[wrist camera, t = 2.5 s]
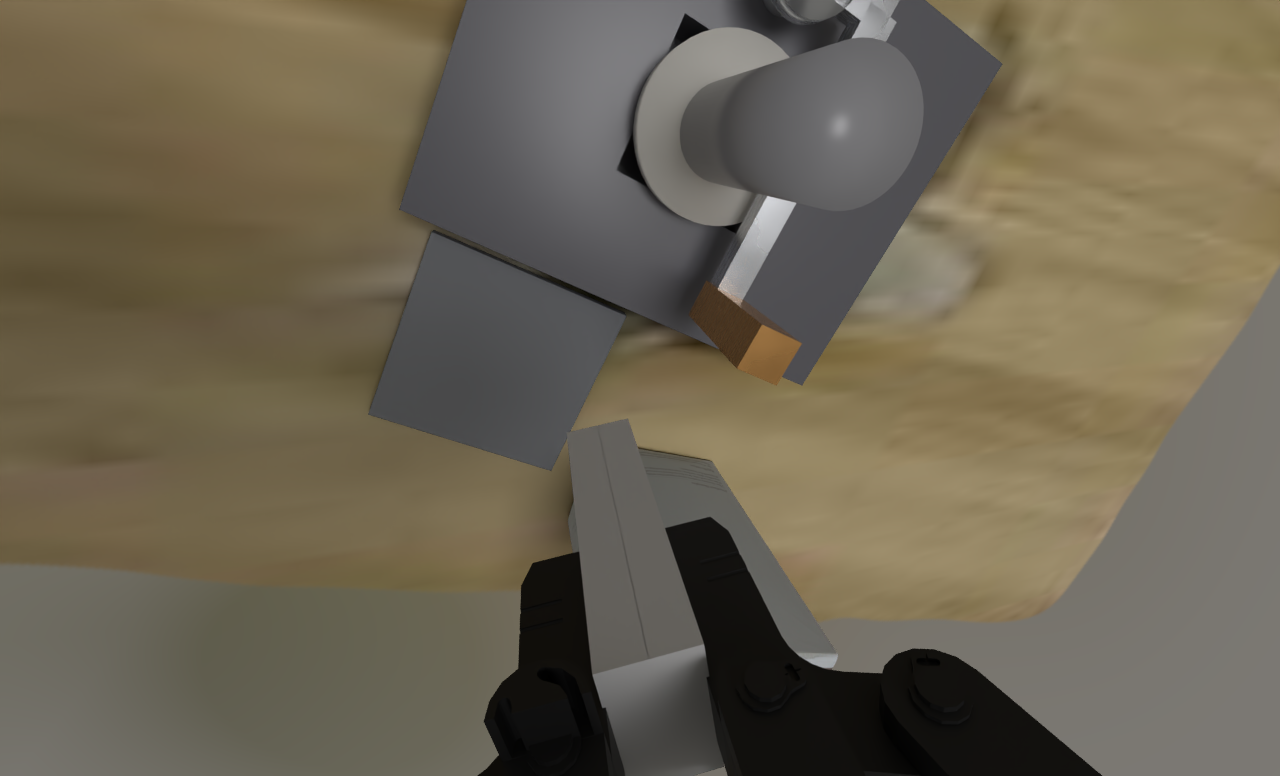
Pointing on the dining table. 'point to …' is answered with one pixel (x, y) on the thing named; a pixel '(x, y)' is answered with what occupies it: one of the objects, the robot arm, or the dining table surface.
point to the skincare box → (703, 493)
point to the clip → (772, 225)
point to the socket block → (607, 166)
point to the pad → (493, 354)
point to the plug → (775, 124)
